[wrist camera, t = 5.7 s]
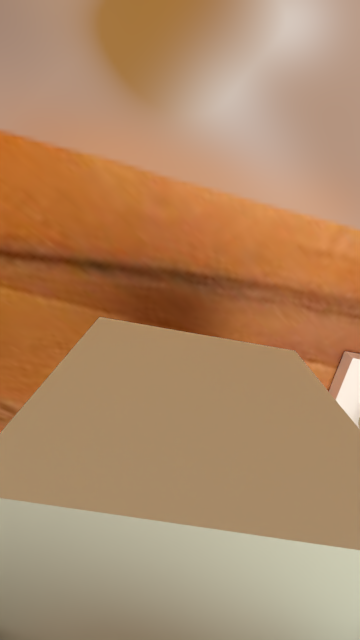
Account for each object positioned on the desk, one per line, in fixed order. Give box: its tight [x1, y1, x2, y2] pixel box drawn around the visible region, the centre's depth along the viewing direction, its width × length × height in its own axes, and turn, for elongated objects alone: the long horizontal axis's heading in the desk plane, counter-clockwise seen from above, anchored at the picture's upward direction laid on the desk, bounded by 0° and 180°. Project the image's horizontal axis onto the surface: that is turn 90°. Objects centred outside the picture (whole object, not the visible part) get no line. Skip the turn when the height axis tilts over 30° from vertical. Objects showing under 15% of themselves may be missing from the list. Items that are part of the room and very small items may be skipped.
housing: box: [0, 317, 360, 640], centre depth 11 cm, size 9×9×9 cm
